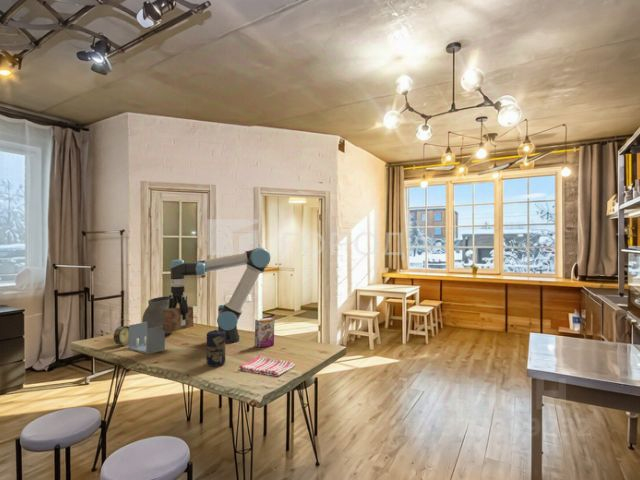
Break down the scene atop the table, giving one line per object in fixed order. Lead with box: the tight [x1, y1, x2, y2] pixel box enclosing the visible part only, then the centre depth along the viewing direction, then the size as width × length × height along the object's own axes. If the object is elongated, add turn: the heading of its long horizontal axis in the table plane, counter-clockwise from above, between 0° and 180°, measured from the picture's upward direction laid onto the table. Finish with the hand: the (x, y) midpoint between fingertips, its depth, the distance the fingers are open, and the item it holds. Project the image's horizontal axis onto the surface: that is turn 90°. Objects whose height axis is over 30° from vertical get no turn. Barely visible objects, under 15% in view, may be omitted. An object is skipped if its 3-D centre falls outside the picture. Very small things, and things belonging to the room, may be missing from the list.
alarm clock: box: [113, 318, 129, 348], centre depth 225 cm, size 11×5×16 cm, turn 168°
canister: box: [205, 329, 226, 367], centre depth 192 cm, size 10×10×18 cm
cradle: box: [128, 322, 166, 355], centre depth 218 cm, size 19×11×14 cm, turn 57°
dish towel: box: [239, 355, 296, 377], centre depth 187 cm, size 17×23×4 cm
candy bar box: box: [254, 317, 275, 349], centre depth 226 cm, size 11×5×16 cm, turn 123°
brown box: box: [163, 305, 194, 333], centre depth 219 cm, size 15×8×12 cm, turn 147°
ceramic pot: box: [141, 295, 178, 335], centre depth 253 cm, size 24×24×25 cm
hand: (178, 324), depth 219 cm, fingers closed on brown box, 8 cm apart
